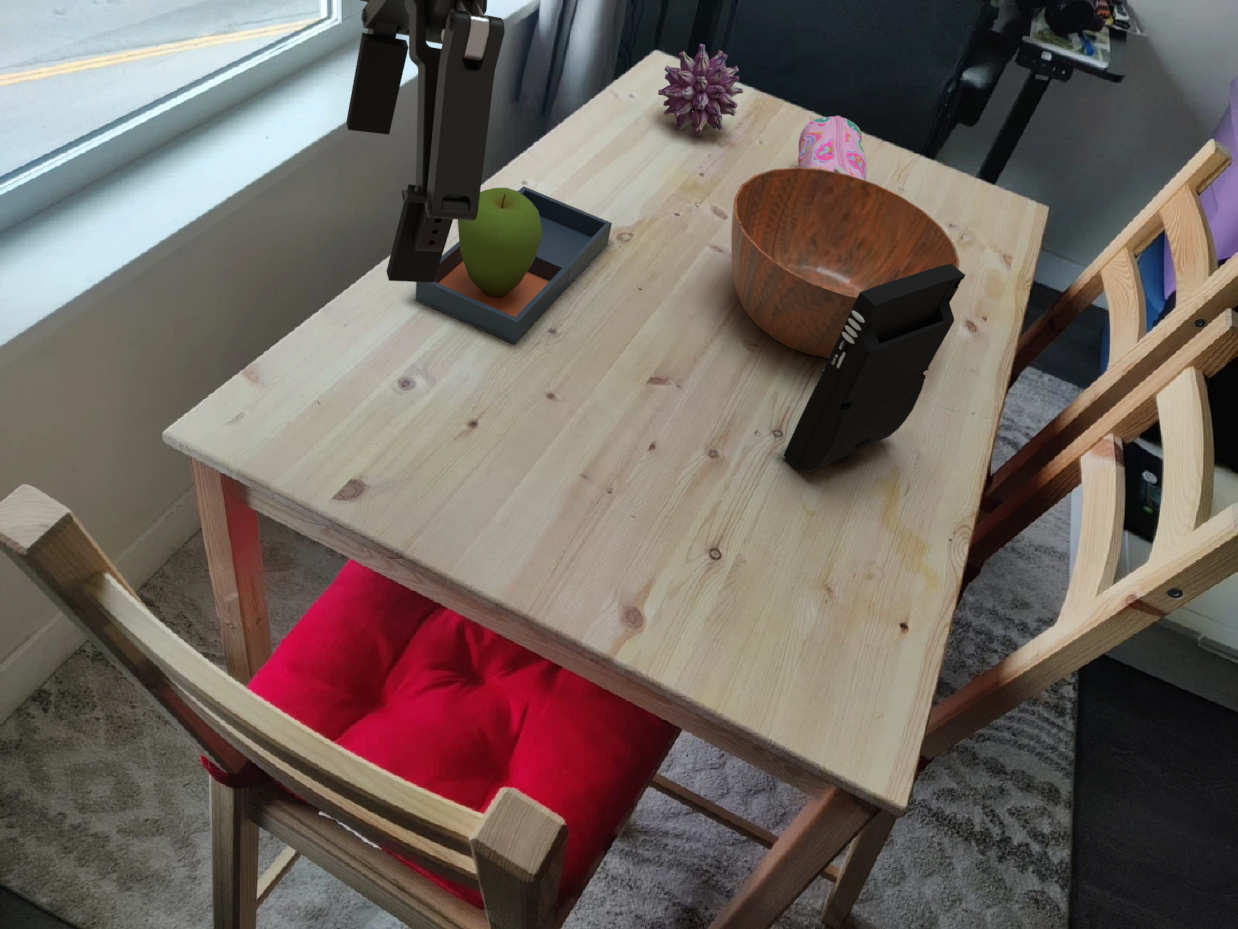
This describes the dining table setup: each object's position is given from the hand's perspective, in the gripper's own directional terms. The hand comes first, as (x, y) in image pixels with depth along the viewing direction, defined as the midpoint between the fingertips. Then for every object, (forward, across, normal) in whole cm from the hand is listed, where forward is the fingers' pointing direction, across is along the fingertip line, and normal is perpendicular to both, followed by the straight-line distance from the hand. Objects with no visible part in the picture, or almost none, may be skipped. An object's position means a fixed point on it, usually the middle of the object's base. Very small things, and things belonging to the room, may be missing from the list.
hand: (387, 199), depth 58 cm
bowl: (+22, +12, -56) cm, 61 cm away
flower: (+28, +53, -60) cm, 85 cm away
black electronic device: (+20, -9, -46) cm, 51 cm away
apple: (+28, +20, -20) cm, 40 cm away
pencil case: (+23, +32, -70) cm, 80 cm away
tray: (+28, +23, -24) cm, 44 cm away
